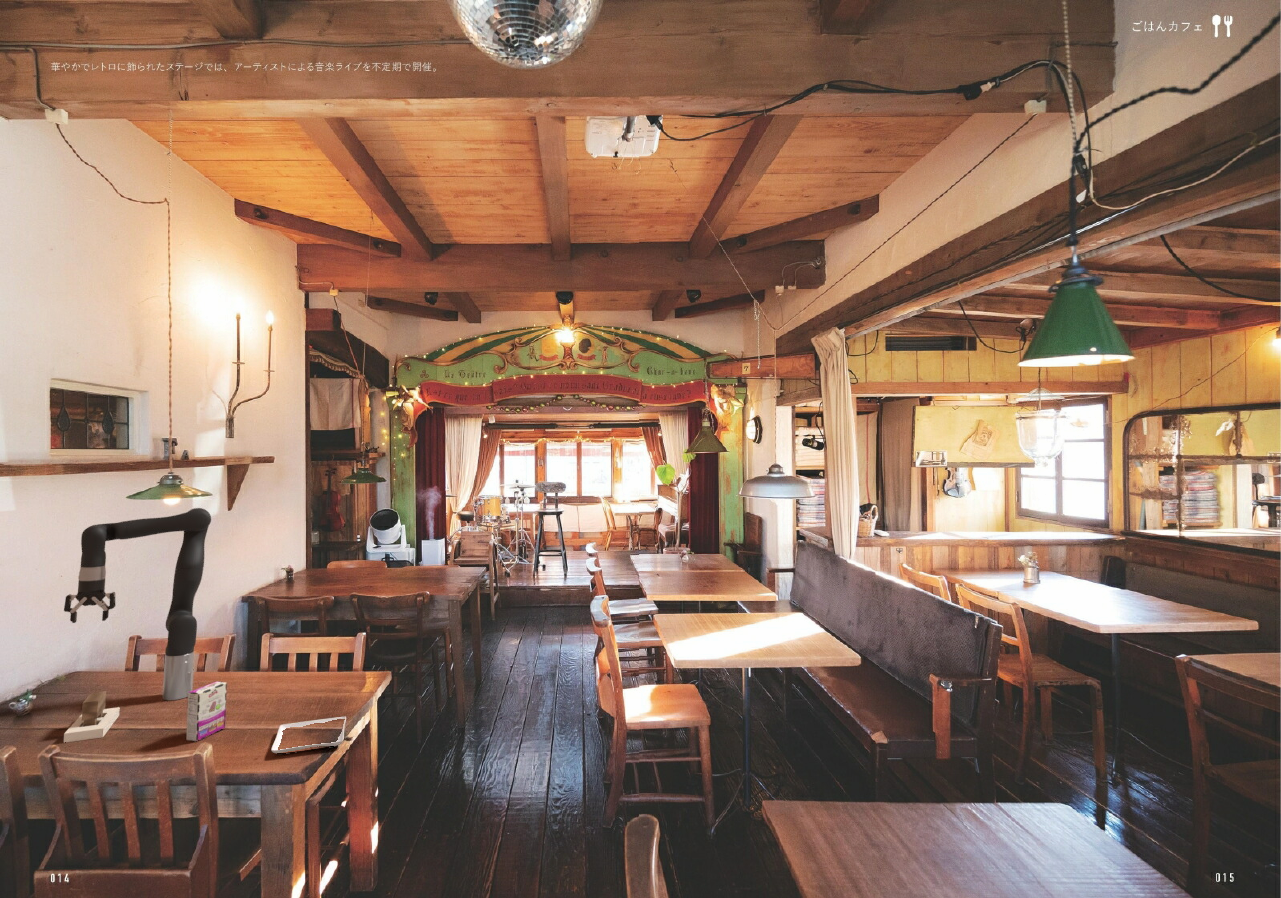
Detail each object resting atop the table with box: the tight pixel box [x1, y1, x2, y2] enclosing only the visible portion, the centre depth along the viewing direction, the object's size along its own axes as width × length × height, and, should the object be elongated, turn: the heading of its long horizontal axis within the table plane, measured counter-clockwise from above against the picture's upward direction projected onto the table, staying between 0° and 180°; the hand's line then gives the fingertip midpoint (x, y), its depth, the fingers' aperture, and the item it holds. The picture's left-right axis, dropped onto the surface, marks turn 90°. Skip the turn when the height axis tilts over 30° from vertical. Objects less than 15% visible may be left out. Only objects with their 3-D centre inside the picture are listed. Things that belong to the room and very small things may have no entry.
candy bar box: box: [185, 680, 228, 742], centre depth 211 cm, size 11×5×16 cm, turn 168°
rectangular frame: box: [270, 716, 347, 754], centre depth 208 cm, size 21×21×3 cm
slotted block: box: [63, 706, 121, 744], centre depth 212 cm, size 10×20×3 cm, turn 29°
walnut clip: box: [81, 690, 107, 727], centre depth 212 cm, size 4×10×11 cm, turn 29°
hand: (89, 621), depth 228 cm, fingers open, 8 cm apart
